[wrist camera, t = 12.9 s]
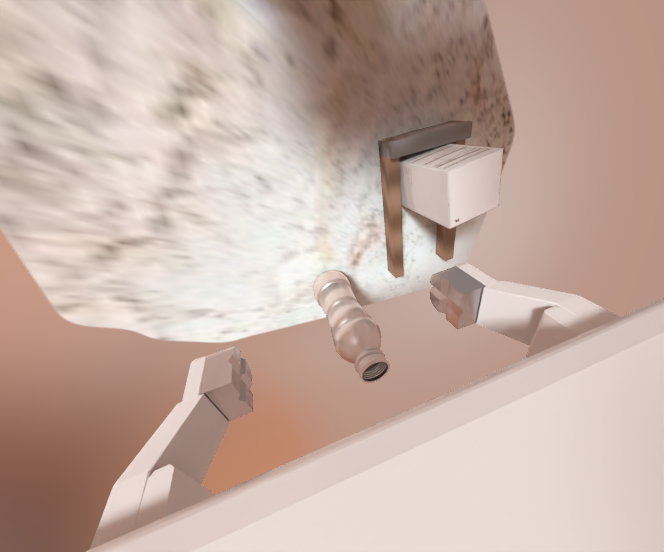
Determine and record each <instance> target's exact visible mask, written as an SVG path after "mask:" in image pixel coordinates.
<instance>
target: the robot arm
mask: <svg viewBox="0 0 664 552" xmlns="http://www.w3.org/2000/svg"><path fill="white" fill-rule="evenodd" d="M430 283H431V284H432V285H433V287H432V289H431V291H430V299H431V301H432V304H433V305H434V307H435V308H436V309H437V310H438V311H439V312H442V313H445V314H446V319H447V320H448V321H449V322H450V323H451V324H452V325H453V326H454V327H455V328H457V329H460V328H462V327H465V326H468V325H471V324H473V323H476V322H477V324H479V325H481V326H483V327H486V328H488V329H491V330H493V331H495V332H498V333H500V334H503V335H505V336H508V337H510V338H512V339H515V340H517V341H520V342H522V343H525V344H527V345H530V347H529V349H528V352H527V354H526V359H523V360H521V361H519V362H517V363H514V364H512V365H510V366H508V367H505V368H503V369H501V370H498V371H496V372H494V373H492V374H489V375H487V376H485V377H482V378H480V379H478V380H476V381H473V382H471V383H469V384H467V385H464V386H462V387H460V388H457V389H455V390H453V391H450V392H448V393H446V394H444V395H441V396H439V397H437V398H434V399H432V400H430V401H428V402H425V403H423V404H421V405H418V406H416V407H414V408H412V409H409V410H407V411H405V412H403V413H400V414H398V415H396V416H393V417H391V418H389V419H387V420H384V421H382V422H380V423H378V424H375V425H373V426H371V427H368V428H366V429H364V430H362V431H359V432H357V433H355V434H353V435H350V436H348V437H346V438H344V439H341V440H339V441H337V442H334V443H332V444H330V445H328V446H325V447H323V448H321V449H319V450H316V451H314V452H311V453H309V454H307V455H305V456H302V457H300V458H298V459H296V460H293V461H291V462H289V463H286V464H284V465H282V466H280V467H277V468H275V469H273V470H270V471H268V472H266V473H264V474H261V475H259V476H257V477H255V478H252V479H250V480H248V481H245V482H243V483H241V484H239V485H236V486H234V487H232V488H229V489H227V490H225V491H223V492H221V493H218V494H216V495H215V494H214V493H213V492H212V491H211V490H209V489H207V488H206V487H204V486H203V485H201V483H202V481H203V479H204V476H205V475H206V473H207V470H208V468H209V466H210V464H211V462H212V460H213V458H214V455H215V453H216V451H217V449H218V447H219V445H220V443H221V440H222V438H223V436H224V434H225V432H226V430H227V427H228V426H229V423H230V422H229V421H231V420H234V419H236V418H239V417H241V416H243V415H246V414H248V413H250V412H253V394H252V393H251V391H250V390H249V388H250V387H251V385H252V375H251V370H250V367H249V365H248V363H247V361H246V360H245V359H243V358H241V351H240V350H239V349H238V347H237V346H233V347H230V348H227V349H224V350H221V351H218V352H215V353H212V354H210V355H207V356H204V357H201V358H198V359H195V360H193V362H192V363H191V365H190V370H189V374H188V378H187V382H186V387H185V391H184V396H183V400H182V402H181V403H178V404H177V405H176V406H175V408H174V409H173V410H172V412H171V413H170V414H169V415H168V417H167V418H166V419H165V420H164V422H163V423H162V424H161V426H160V427H159V428H158V429H157V431H156V432H155V433H154V434H153V436H152V437H151V438H150V440H149V441H148V442H147V443H146V445H145V446H144V447H143V449H142V450H141V451H140V452H139V454H138V455H137V456H136V458H135V459H134V460H133V461H132V463H131V464H130V465H129V466H128V468H127V469H126V470H125V472H124V473H123V474H122V475H121V477H120V478H119V479H118V481H117V482H116V483H115V484H114V486H113V489H112V491H111V494H110V496H109V499H108V502H107V505H106V507H105V510H104V513H103V516H102V518H101V521H100V524H99V526H98V529H97V532H96V535H95V537H94V540H93V543H92V546H91V549H90V550H88V551H86V552H664V298H662V299H660V300H658V301H655V302H653V303H651V304H649V305H646V306H644V307H642V308H640V309H638V310H635V311H633V312H630V313H628V314H626V315H624V316H622V317H619V316H618V315H616V314H613V313H612V312H609V311H608V310H606V309H604V308H602V307H600V306H598V305H596V304H594V303H592V302H590V301H588V300H586V299H584V298H582V297H580V296H579V295H573V294H568V293H563V292H558V291H553V290H548V289H542V288H537V287H532V286H527V285H522V284H517V283H512V282H507V281H499V282H498V281H497V280H495V279H493V278H492V277H490V276H488V275H487V274H485V273H483V272H482V271H480V270H479V269H477V268H475V267H473V266H472V265H470V264H469V263H462V264H460V265H457V266H454V267H452V268H449V269H447V270H444V271H441V272H439V273H436V274H433V275H432V277H431V281H430Z"/></svg>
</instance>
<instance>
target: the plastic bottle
mask: <svg viewBox="0 0 664 552" xmlns="http://www.w3.org/2000/svg"><path fill="white" fill-rule="evenodd" d="M313 290H314V297H315V299H316V301H317V302H318V304H319V305H320V306H321V307H322V309H323V311H324V313H325V314H326V316H327V319H328V322H329V325H330V327H331V332H332V337H333V341H334V345H335V349H336V351H337V353H338V354H339V355H340V356H341V357H342V358H343V359H344V360H346V361H348V362H350V363H353V364H354V366H355V369H356V371H357V372H358V373H359V375H360V377H361V379H362V380H363V381H364V382H367V383H370V382H374V381H377V380H379V379H381V378H382V377H383V376H385V374H386V373H387V372H388V370H389V363H388V361H387V360H386V358H385V355H384V354H383V352H382V351H381V350H380V344H381V333H380V330H379V327H378V325H377V324H376V323H375V322H374V321H373V319H372V318H371V317H370V316H369V315H368V314H367V313H366V312H365V311H364V310H363V308H362V307H361V305H360V304H359V303H358V301H357V300H356V298H355V296H354V293H353V291H352V288H351V285H350V282H349V280H348V278H347V277H346V276H345V275H344V274H343V273H341V272H340V271H336V270H330V271H326V272H324V273H322V274H321V275H320V276H319V277H318V278H317V279H316V281H315V283H314V286H313Z"/></svg>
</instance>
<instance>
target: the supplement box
mask: <svg viewBox="0 0 664 552" xmlns="http://www.w3.org/2000/svg"><path fill="white" fill-rule="evenodd" d="M502 157H503V148H495V147H483V146H469V145H458V144H445V145H441V146H438V147H434V148H431V149H427V150H424V151H420V152H416V153H413V154H409V155H406V156H402V157H399V159H400V190H401V205H402V206H404V207H406V208H408V209H410V210H412V211H414V212H416V213H418V214H420V215H422V216H424V217H426V218H428V219H430V220H432V221H434V222H436V223H438V224H441V225H442V226H444V227H447V228H449V229H451V228H453V227H455V226H458V225H460V224H462V223H464V222H466V221H468V220H470V219H473V218H475V217H477V216H479V215H481V214H483V213H485V212H487V211H489V210H492V209H494V208H496V207H497V206H498V205H499V191H500V181H501V168H502Z"/></svg>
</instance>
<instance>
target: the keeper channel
mask: <svg viewBox="0 0 664 552" xmlns="http://www.w3.org/2000/svg"><path fill="white" fill-rule="evenodd" d="M471 129H472V121H451V122H447V123H443V124H439V125H436V126H432V127H428V128H424V129H421V130H417V131H413V132H409V133H406V134H402V135H398V136H394V137H391V138H387V139H383V140H379V154H380V167H381V181H382V194H383V207H384V221H385V234H386V247H387V261H388V270H389V271H390V272H391V273H392V274H393V275H394V277H395V278H397V277H400V276H403V251H402V220H401V190H400V159H399V157H402V156H406V155H409V154H413V153H416V152H420V151H424V150H427V149H431V148H434V147H438V146H441V145H445V144H458V145H464V144H465V139H466V138H470V137H471ZM455 232H456V226H455V227H453V228H451V229H449V228H447V227H444V226H442V225H441V224H438V225H437V242H436V254H437V255H439V256H440V257H442V258H443V259H445V260H448V259H451V258H453V251H454V241H455Z"/></svg>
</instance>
